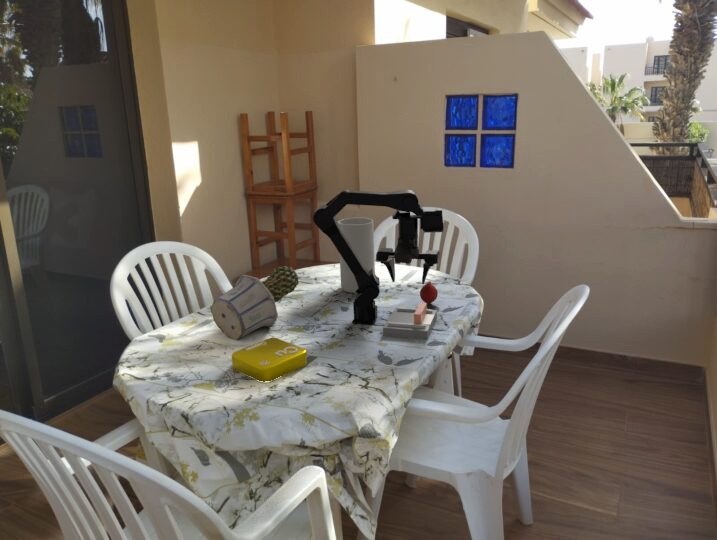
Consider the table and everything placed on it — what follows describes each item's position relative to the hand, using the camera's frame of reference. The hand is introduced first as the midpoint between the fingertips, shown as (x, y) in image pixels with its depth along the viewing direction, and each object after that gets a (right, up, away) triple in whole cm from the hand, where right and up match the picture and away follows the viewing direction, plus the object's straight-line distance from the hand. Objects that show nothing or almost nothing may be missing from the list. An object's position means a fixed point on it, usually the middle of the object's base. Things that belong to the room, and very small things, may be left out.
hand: (408, 282), depth 175 cm
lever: (+3, -10, -4) cm, 11 cm away
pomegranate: (+8, -8, +16) cm, 19 cm away
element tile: (-38, -22, -24) cm, 50 cm away
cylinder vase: (-15, -3, +34) cm, 38 cm away
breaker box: (+1, -13, -2) cm, 13 cm away
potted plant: (-45, -13, +3) cm, 47 cm away
